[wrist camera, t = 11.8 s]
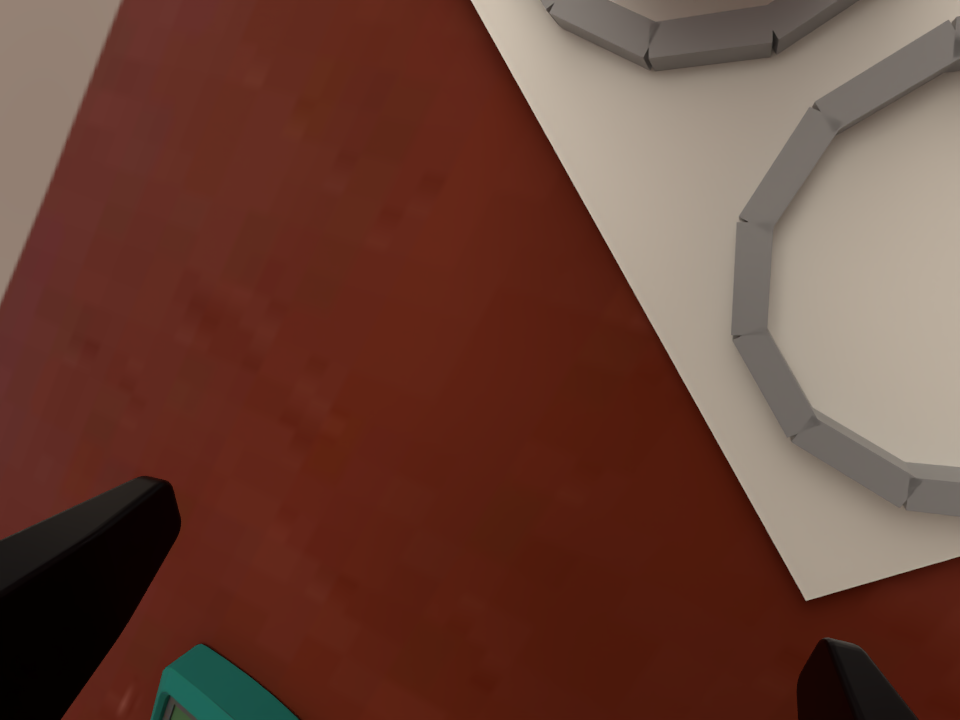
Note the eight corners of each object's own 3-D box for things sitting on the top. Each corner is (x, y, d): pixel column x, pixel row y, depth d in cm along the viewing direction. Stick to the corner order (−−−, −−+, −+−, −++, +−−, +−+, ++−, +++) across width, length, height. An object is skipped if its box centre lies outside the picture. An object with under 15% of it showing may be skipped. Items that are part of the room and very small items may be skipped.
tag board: (1554, 361, 12) (1820, 398, 9) (803, 586, 18) (815, 653, 15) (905, -668, 13) (950, -934, 10) (400, -137, 19) (336, -208, 16)
